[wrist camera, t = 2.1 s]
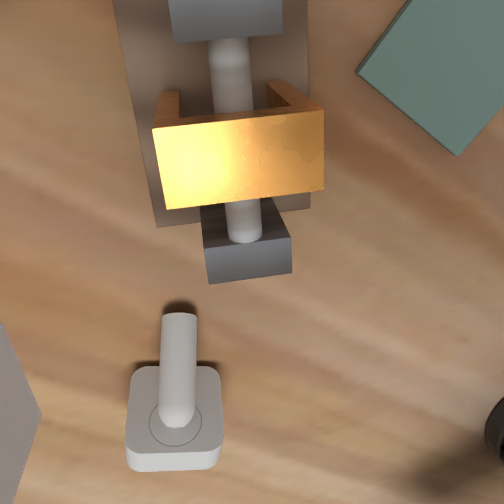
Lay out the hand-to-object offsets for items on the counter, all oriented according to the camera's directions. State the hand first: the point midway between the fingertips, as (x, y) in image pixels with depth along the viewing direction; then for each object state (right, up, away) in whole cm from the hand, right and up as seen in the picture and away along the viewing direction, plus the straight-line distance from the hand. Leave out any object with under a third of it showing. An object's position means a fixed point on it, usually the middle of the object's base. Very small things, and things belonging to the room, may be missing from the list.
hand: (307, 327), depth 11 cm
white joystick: (-8, -8, +33) cm, 35 cm away
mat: (+14, +16, +23) cm, 31 cm away
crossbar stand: (-3, +12, +22) cm, 26 cm away
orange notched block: (-3, +11, +20) cm, 23 cm away
